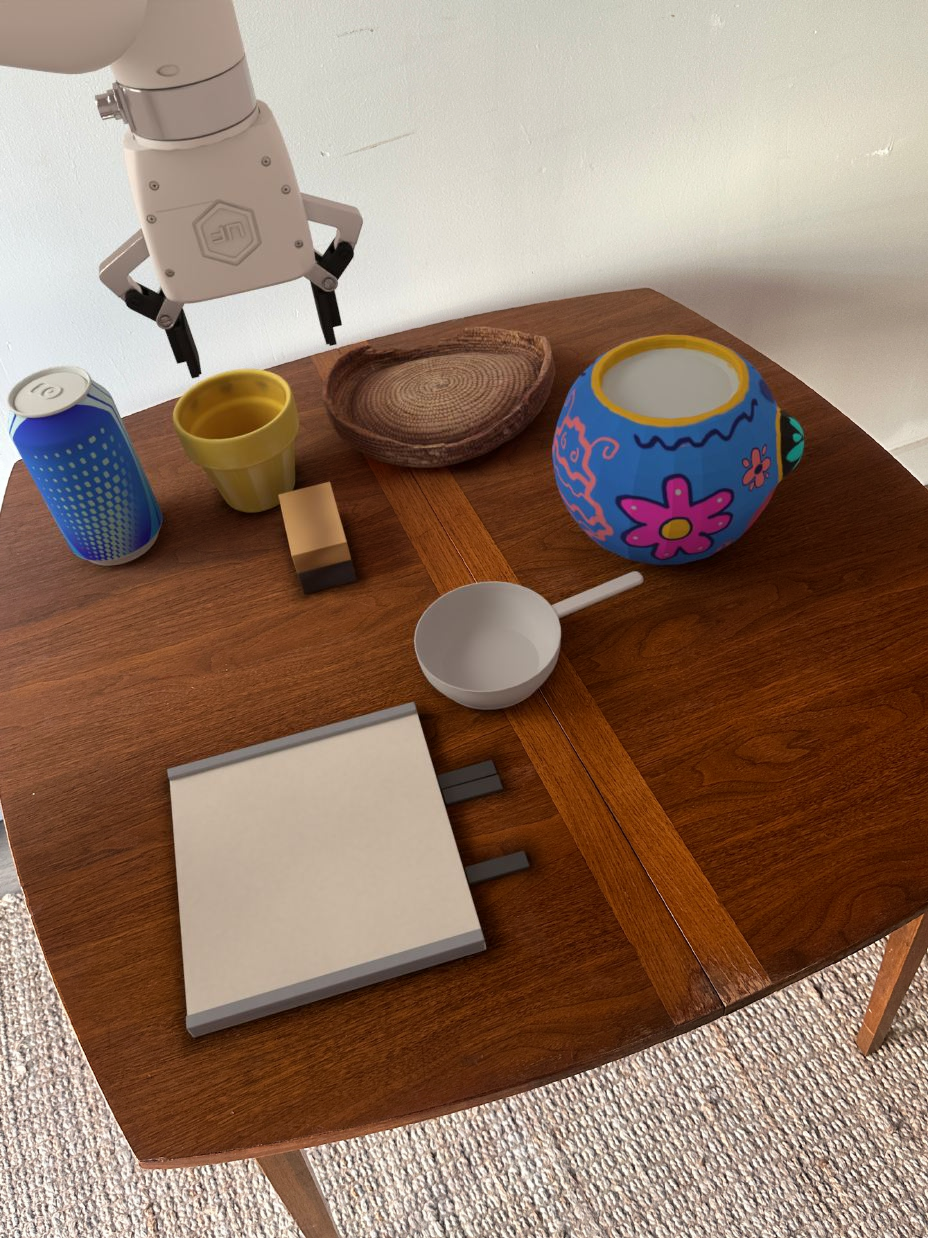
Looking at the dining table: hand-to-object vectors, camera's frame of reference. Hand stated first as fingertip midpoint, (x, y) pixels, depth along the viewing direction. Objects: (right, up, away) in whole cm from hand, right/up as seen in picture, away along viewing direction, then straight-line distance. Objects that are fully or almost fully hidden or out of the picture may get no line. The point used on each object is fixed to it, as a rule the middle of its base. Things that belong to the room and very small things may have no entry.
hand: (262, 351), depth 72 cm
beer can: (-16, -12, +19) cm, 28 cm away
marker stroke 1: (+15, -30, -1) cm, 33 cm away
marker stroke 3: (+16, -35, -7) cm, 39 cm away
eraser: (+2, -14, +15) cm, 20 cm away
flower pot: (-4, -7, +22) cm, 24 cm away
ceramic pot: (+31, -11, +13) cm, 35 cm away
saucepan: (+20, -21, +6) cm, 30 cm away
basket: (+13, +1, +27) cm, 30 cm away
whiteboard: (+5, -35, -5) cm, 35 cm away
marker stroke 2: (+15, -31, -2) cm, 34 cm away
